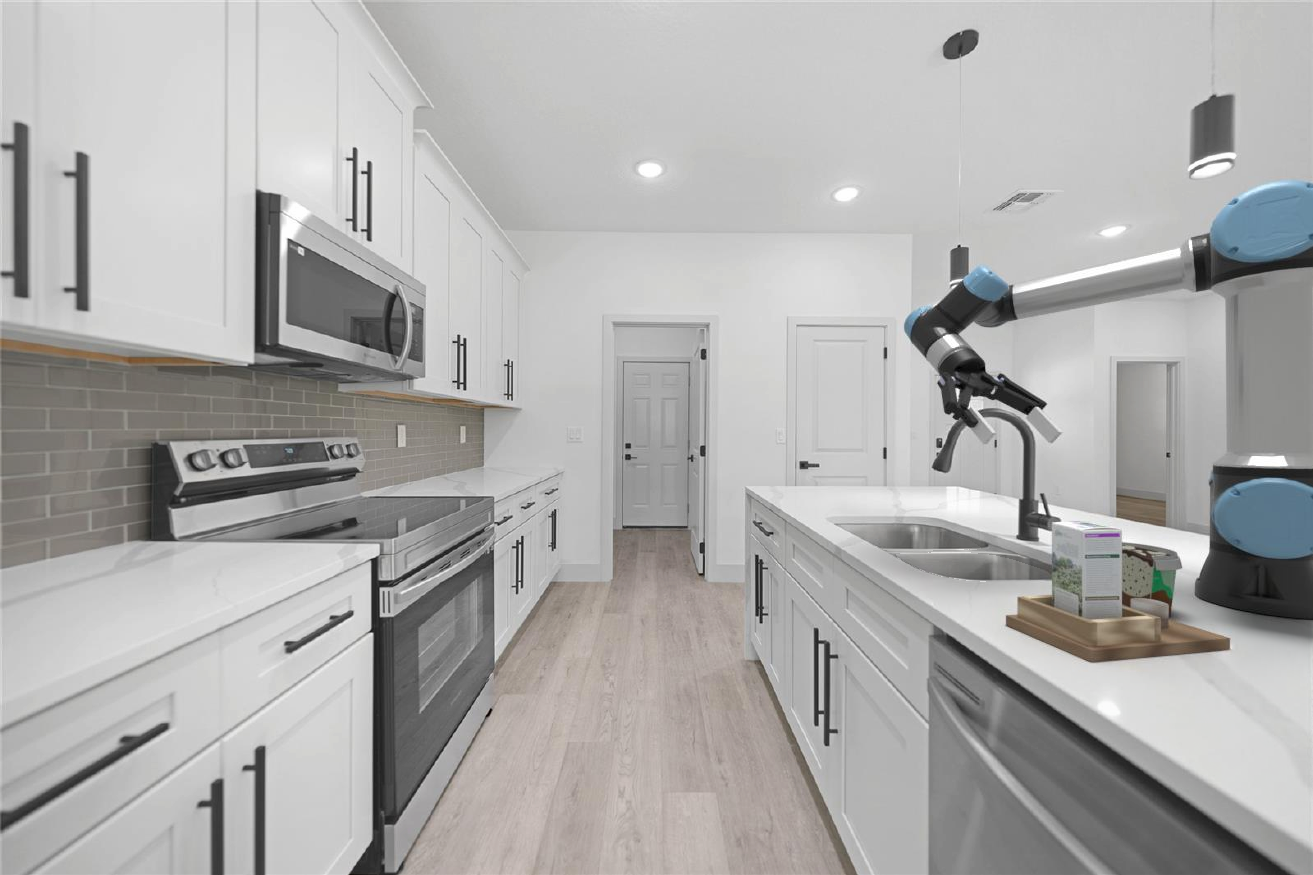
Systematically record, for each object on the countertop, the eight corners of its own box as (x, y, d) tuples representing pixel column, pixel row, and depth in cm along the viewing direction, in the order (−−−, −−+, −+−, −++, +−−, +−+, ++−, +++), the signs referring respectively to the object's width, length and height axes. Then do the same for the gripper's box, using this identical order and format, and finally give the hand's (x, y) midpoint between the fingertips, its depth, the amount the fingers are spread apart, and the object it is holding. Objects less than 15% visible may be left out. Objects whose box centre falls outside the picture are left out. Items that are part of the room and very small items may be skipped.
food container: (1204, 625, 80) (1205, 558, 80) (1156, 622, 81) (1156, 556, 81) (1146, 600, 92) (1147, 542, 92) (1105, 597, 93) (1105, 540, 93)
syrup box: (1124, 635, 72) (1125, 527, 71) (1080, 635, 71) (1081, 527, 71) (1089, 620, 77) (1090, 520, 77) (1049, 620, 77) (1049, 520, 77)
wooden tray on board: (1127, 616, 84) (1127, 587, 83) (1230, 649, 71) (1230, 615, 71) (1005, 625, 80) (1006, 595, 79) (1091, 662, 67) (1091, 626, 67)
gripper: (998, 378, 111) (1068, 451, 97) (892, 376, 106) (949, 454, 91) (1020, 348, 106) (1097, 421, 91) (909, 345, 101) (973, 422, 86)
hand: (1023, 438), depth 91 cm, fingers open, 13 cm apart
